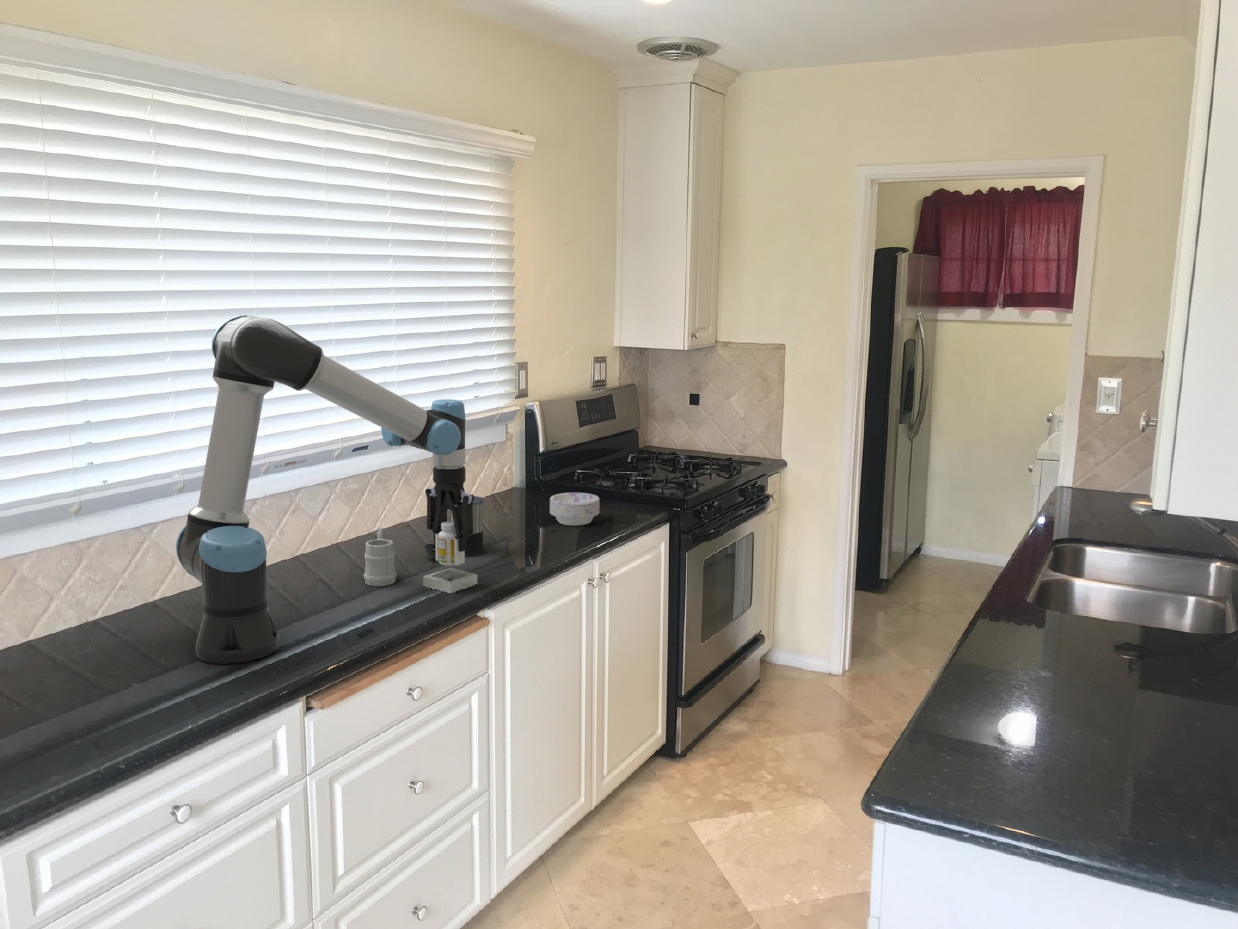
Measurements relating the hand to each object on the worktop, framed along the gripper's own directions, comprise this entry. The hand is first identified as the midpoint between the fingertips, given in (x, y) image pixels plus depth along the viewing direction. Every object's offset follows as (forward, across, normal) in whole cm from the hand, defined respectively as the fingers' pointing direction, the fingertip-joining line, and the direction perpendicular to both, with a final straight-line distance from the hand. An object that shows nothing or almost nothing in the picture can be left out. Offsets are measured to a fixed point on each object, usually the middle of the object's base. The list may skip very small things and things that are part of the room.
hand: (450, 561), depth 229 cm
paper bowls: (+6, +14, -69) cm, 71 cm away
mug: (+6, +16, +7) cm, 19 cm away
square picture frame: (+6, 0, 0) cm, 6 cm away
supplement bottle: (+1, 0, 0) cm, 1 cm away
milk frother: (+6, +17, -20) cm, 27 cm away
